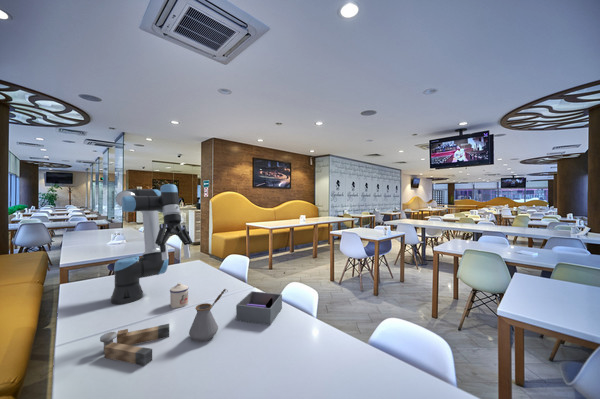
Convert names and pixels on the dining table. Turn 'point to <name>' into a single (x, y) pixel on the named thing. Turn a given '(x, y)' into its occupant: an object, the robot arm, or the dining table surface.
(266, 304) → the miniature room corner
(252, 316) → the frame
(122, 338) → the bar
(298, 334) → the dining table surface
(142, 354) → the tongs lower arm
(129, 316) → the dining table surface
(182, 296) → the teacup with lid
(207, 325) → the coffee pot
